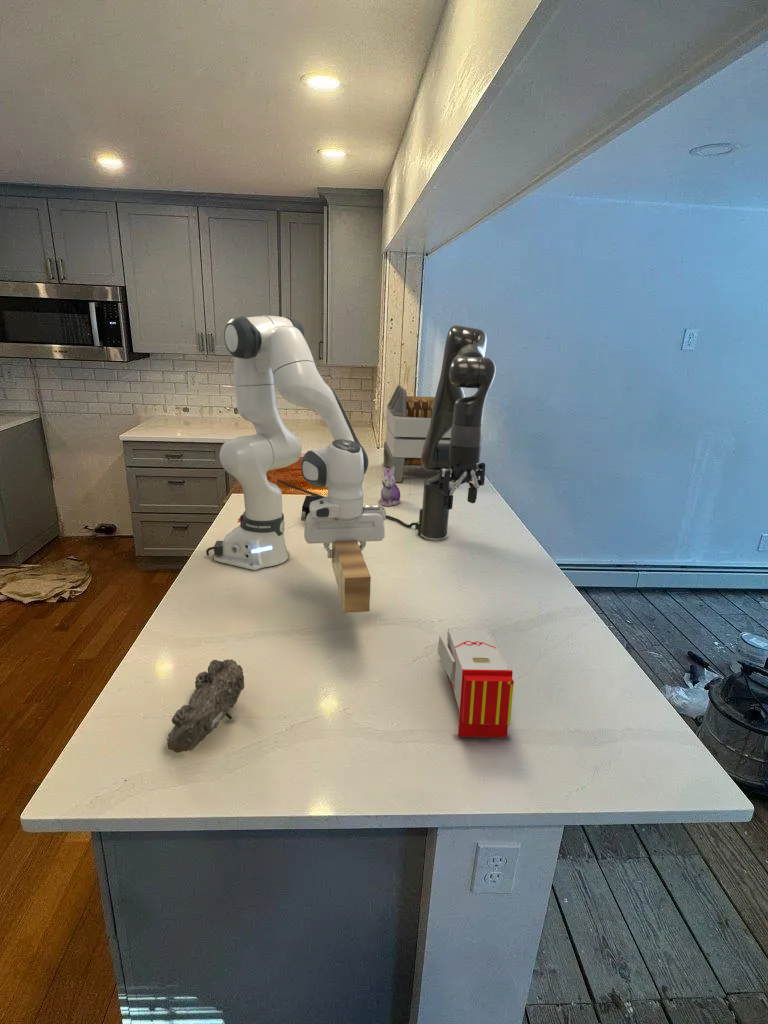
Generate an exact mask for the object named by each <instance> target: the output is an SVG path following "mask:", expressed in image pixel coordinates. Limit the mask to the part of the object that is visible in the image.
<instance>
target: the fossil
mask: <svg viewBox="0 0 768 1024" xmlns="http://www.w3.org/2000/svg"><path fill="white" fill-rule="evenodd" d="M243 670H244V669H243V667H242V665H240V664H237V662H236V661H235V660H234V659H232V658H231V659H227V658H226V659H224V660H223V661H222V660H217V659H212V660H211V661H210V663H209V665H208V666H207V671H201V672H199V673H198V674H197V675H196V676H195V680H194V684H195V685H194V687H195V689H194V690H193V693H192V694H191V697H190V698H189V700H188V704H184V705H182V706H181V707H180V709H177V710H176V711H175V713H174V715H173V716H172V718H171V723H172V724H173V727H172V730H171V731H170V732H168V734H167V738H166V741H167V742H166V745H167V749H168V750H169V751H173V752H174V753H176V754H178V753H182V752H188V751H189V752H192V751H193V750H195V748H196V747H197V746H199V744H200V743H201V742H203V741H204V740H205V739H206V738H207V737H208V736H209V735H210V734H211V733H212V732H214V730H215V729H217V727H218V726H219V724H220V722H221V721H222V720H223V719H224V718H225V716H226V717H227V719H229V720H233V717H232V715H230V714H229V710H230V709H231V708H234V706H235V704H236V703H237V702H238V699H239V697H240V695H241V693H242V691H243V690H245V689H244V688H245V675H244V671H243Z"/></svg>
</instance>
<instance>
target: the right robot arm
mask: <svg viewBox="0 0 768 1024" xmlns="http://www.w3.org/2000/svg"><path fill="white" fill-rule="evenodd" d="M487 338H488V337H487V334H486V332H485V331H484V330H482V329H480V328H476V327H475V328H474V327H470V326H466V325H465V326H463V325H459V324H458V325H456V324H455V325H454V324H453V325H452V326H451V327H450V328H449V330H448V332H447V334H446V339H445V343H444V351H443V358H442V364H441V371H440V375H439V376H440V377H439V381H438V384H437V388H436V392H435V396H434V397H435V400H434V405H433V410H432V416H431V421H430V426H429V430H428V433H427V436H426V439H425V442H424V446H423V449H422V454H421V465H422V466H421V467H422V469H423V470H424V471H428V472H429V471H430V472H438V473H437V474H435V475H433V476H431V477H429V478H427V479H425V480H424V482H423V493H422V496H423V497H422V506H421V508H420V509H419V516H418V521H416V522H411V523H410V524H407V523H405V522H404V521H402V520H401V519H399V518H396V517H394V516H391V515H389V514H388V515H387V514H386V518H385V519H390V520H392V521H395V522H397V523H399V524H400V525H402V526H403V527H405V528H412V527H413V526H414V529H415V530H417V535H418V536H420V538H421V539H424V540H426V541H432V542H440V541H444V540H446V539H447V538H448V525H449V517H450V516H449V514H450V510H452V509H453V506H454V505H453V503H454V493H455V491H456V490H457V489H459V488H460V485H463V484H465V483H467V485H468V489H467V499H466V500H467V502H468V503H470V504H476V501H477V499H478V498H477V497H478V490H479V488H480V487H481V486H482V487H483V486H484V485H485V480H486V479H485V478H486V463H485V462H482V461H480V460H481V451H482V442H483V422H484V421H483V420H484V412H485V406H486V401H487V398H488V395H489V392H490V390H491V387H492V385H493V382H494V380H495V377H496V372H497V368H496V364H495V362H494V360H493V359H491V358H490V357H485V355H486V350H487V342H488V341H487V340H488V339H487ZM464 389H477V391H476V392H475V393H474V394H473V395H470V396H466V395H465V391H464ZM451 428H452V429H451ZM450 429H451V437H450V443H439V441H440V439H441V438H442V437H443V436H444V435H445V434H446V433H447V432H448V431H449V430H450ZM452 480H453V481H454V482H455V483H453V482H452ZM277 482H279V483H281V484H283V485H285V486H287V487H290V488H293V489H295V490H298V491H300V492H303V493H304V494H309V495H310V496H319V497H322V498H324V497H325V496H324V495H321V494H318V493H315V492H312V491H309V490H306V489H304V488H302V487H298V486H296V485H293V484H291V483H288V482H286V481H284V480H282V479H279V478H278V479H277Z"/></svg>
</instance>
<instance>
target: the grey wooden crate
mask: <svg viewBox="0 0 768 1024" xmlns="http://www.w3.org/2000/svg"><path fill="white" fill-rule="evenodd" d="M407 394H408V393H407V390H406V389H404V388H403V387H402V385H399V384H398V385H397V386H396V388H395V390H394V392H393V394H392V395H391V398H390V400H389V402H388V404H387V405H386V413H385V414H386V415H385V423H386V428H385V438H384V442H383V466H384V467H386V468H387V467H388V468H389V470H390V469H391V468H392V467H393V466H394V468H395V469H394V474H393V476H394V478H395V481H396V483H402V482H403V475H404V469H405V466H406V467H407V466H411V467H412V466H413V467H415V466H416V467H417V466H418V467H422V465H421V454H422V449H423V446H424V442H425V439H426V436H427V433H428V430H429V426H430V421H431V416H432V410H433V405H434V400H435V396H415V395H414V396H413V395H412V396H411V395H407ZM451 429H452V428H451ZM451 429H450V430H449V431H448V432H447V433H446V434H445V435H444V436H443V437H442V438H441V439H440V441H439V443H450V437H451ZM452 482H453V483H455V482H454V481H453V480H452Z"/></svg>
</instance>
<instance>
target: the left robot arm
mask: <svg viewBox="0 0 768 1024" xmlns="http://www.w3.org/2000/svg"><path fill="white" fill-rule="evenodd" d="M223 333H224V334H223V339H224V341H223V342H224V345H225V347H226V349H227V351H228V352H229V354H230V355H231V356H232V357H233V358H234V360H233V380H234V389H235V390H234V391H235V398H236V407H237V412H238V414H239V416H240V417H241V418H243V419H244V420H246V421H249V422H250V423H251V424H252V425H253V426H254V429H255V433H256V434H250V435H243V436H238V437H235V438H232V439H230V440H227V441H225V442H223V444H222V445H221V447H220V450H219V461H220V465H221V467H222V468H223V470H224V471H225V472H226V473H227V474H228V475H231V476H232V477H234V479H236V480H237V482H238V483H239V485H240V487H241V490H242V494H243V501H244V511H243V513H242V514H240V516H239V517H238V518H237V524H239V523H240V524H239V525H238V526H237V527H235V528H233V529H232V530H231V531H230V532H228V533H227V534H226V535H225V537H224V538H223V540H216V541H215V543H214V545H213V546H210V547H208V548H207V549H206V550H205V555H206V556H207V557H208V556H210V553H209V552H210V551H212V550H213V555H214V556H213V557H214V558H213V560H214V561H215V562H218V563H219V562H220V563H221V564H222V563H223V564H226V565H231V566H234V567H235V566H236V567H240V568H243V569H247V570H251V571H257V570H260V569H263V568H269V567H275V566H278V565H282V564H283V563H285V562H286V561H288V559H289V556H290V555H289V552H288V550H287V546H286V541H285V534H284V533H285V524H286V523H285V515H284V513H283V492H282V489H281V488H280V486H278V485H277V484H276V483H273V482H272V481H269V480H268V476H267V473H268V471H274V470H278V469H283V468H286V467H289V466H291V465H293V464H296V463H297V462H298V461H299V460H300V458H301V456H302V451H303V447H302V443H301V440H300V439H299V437H298V436H297V435H296V434H295V433H294V432H292V431H291V430H290V429H289V428H288V427H287V426H286V424H285V423H284V421H283V419H282V417H281V415H280V410H279V407H278V401H277V393H276V388H277V391H278V392H279V394H280V396H281V397H282V399H284V400H286V401H287V402H288V403H291V404H292V405H296V406H297V407H302V408H305V409H308V410H311V411H313V412H314V413H317V414H318V415H319V416H321V417H322V419H323V420H324V421H325V423H326V425H327V428H328V429H329V432H330V434H331V436H332V438H333V441H331V442H330V443H329V444H328V445H325V446H323V447H318V448H317V447H316V448H313V449H310V450H308V451H306V452H305V453H304V455H303V456H302V460H301V463H300V464H301V465H300V469H301V470H300V471H301V475H302V477H303V479H304V481H306V482H307V483H308V484H309V485H310V486H312V487H316V488H326V489H327V496H324V498H321V499H318V500H315V501H312V502H311V503H310V506H309V509H310V513H309V514H308V515H307V517H306V520H305V521H306V522H305V521H304V533H303V534H304V535H303V537H304V541H305V542H306V543H307V544H311V545H312V544H323V548H324V549H325V551H326V552H327V559H332V558H334V551H333V550H332V549H330V547H331V544H332V543H334V541H355V540H357V542H358V543H359V547H360V550H361V552H363V550H364V549H365V547H366V546H367V542H381V541H383V540H384V539H385V535H386V533H385V531H386V530H385V523H384V521H385V520H386V519H387V518H386V515H387V510H386V509H385V508H384V507H383V506H381V504H380V505H379V504H375V505H368V504H367V505H364V491H363V482H364V479H365V475H366V473H367V471H368V468H369V456H368V454H367V452H366V450H365V448H364V446H363V445H362V444H361V443H360V440H359V439H358V437H357V436H356V432H355V431H354V429H353V426H352V425H351V422H350V420H349V418H348V415H347V414H346V411H345V409H344V407H343V405H342V403H341V401H340V398H339V397H338V394H337V393H336V392H335V390H334V389H333V387H331V386H329V385H328V384H327V383H326V382H325V380H324V379H323V377H322V376H321V374H320V373H319V371H318V368H317V366H316V362H315V359H314V357H313V354H312V352H311V349H310V347H309V345H308V342H307V339H306V334H305V330H304V327H303V324H302V323H301V322H300V320H298V319H296V318H293V317H291V316H278V315H266V314H264V315H255V316H237V317H233V318H231V319H230V320H228V321H227V323H226V325H225V327H224V332H223Z"/></svg>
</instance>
